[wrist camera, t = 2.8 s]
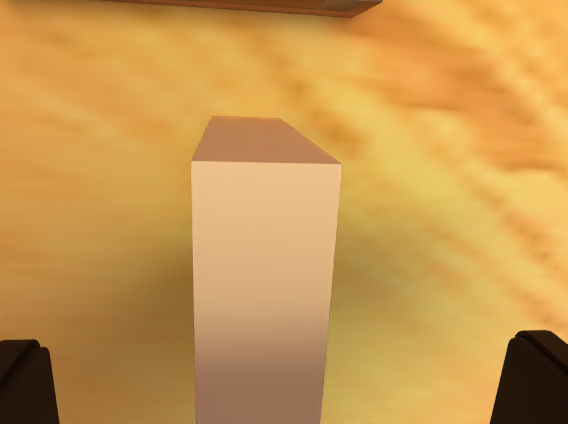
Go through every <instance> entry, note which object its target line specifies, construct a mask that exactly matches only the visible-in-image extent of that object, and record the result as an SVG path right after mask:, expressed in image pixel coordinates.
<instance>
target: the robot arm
mask: <svg viewBox="0 0 568 424" xmlns="http://www.w3.org/2000/svg"><path fill="white" fill-rule="evenodd" d="M0 424H59V417H58V410H57V403H56V396H55V389H54V381H53V374H52V367H51V360H50V353H49V350H48V348H46V347H40V344H39V342H38V341H37V340H35V339H31V340H3V341H0ZM490 424H568V344H567V343H565V342H564V341H563V340H562V339H560V338H559V337H558V336H557V335H555V334H554V333H552V332H551V331H547V330H528V331H520V332H518V333H517V334H516V335H515V338H512V339H511V340H510V341H509V344H508V347H507V352H506V356H505V360H504V365H503V369H502V373H501V377H500V382H499V386H498V390H497V395H496V399H495V403H494V407H493V412H492V416H491V420H490Z"/></svg>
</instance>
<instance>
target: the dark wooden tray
mask: <svg viewBox="0 0 568 424" xmlns="http://www.w3.org/2000/svg"><path fill="white" fill-rule="evenodd" d="M105 1H119V2H134V3H148V4H163V5H177V6H192V7H206V8H221V9H235V10H250V11H264V12H279V13H293V14H308V15H322V16H337V17H354V16H356V15H358V14H360V13H362V12H364V11H366V10H368V9H370V8H372V7H374V6H376V5H378V4H380V3H382V1H383V0H105Z"/></svg>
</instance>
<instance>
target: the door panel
mask: <svg viewBox="0 0 568 424" xmlns="http://www.w3.org/2000/svg"><path fill="white" fill-rule="evenodd" d="M341 172H342V164H341V163H340V162H338V161H337V160H336V159H334V158H333V157H331V156H330V155H329V154H327V153H326V152H325V151H323V150H322V149H320V148H319V147H318V146H316V145H315V144H314V143H312V142H311V141H309V140H308V139H307V138H305V137H304V136H303V135H301V134H300V133H299V132H297V131H296V130H294V129H293V128H292V127H290V126H289V125H288V124H286V123H285V122H283V121H282V120H281V119H279V118H255V117H227V116H212V117H211V119H210V122H209V124H208V126H207V128H206V130H205V132H204V134H203V137H202V139H201V141H200V143H199V145H198V147H197V149H196V151H195V154H194V156H193V158H192V160H191V186H192V237H193V288H194V339H195V390H196V424H320V419H321V407H322V395H323V384H324V372H325V360H326V348H327V337H328V325H329V313H330V301H331V290H332V278H333V266H334V254H335V243H336V231H337V219H338V207H339V196H340V184H341Z"/></svg>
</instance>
